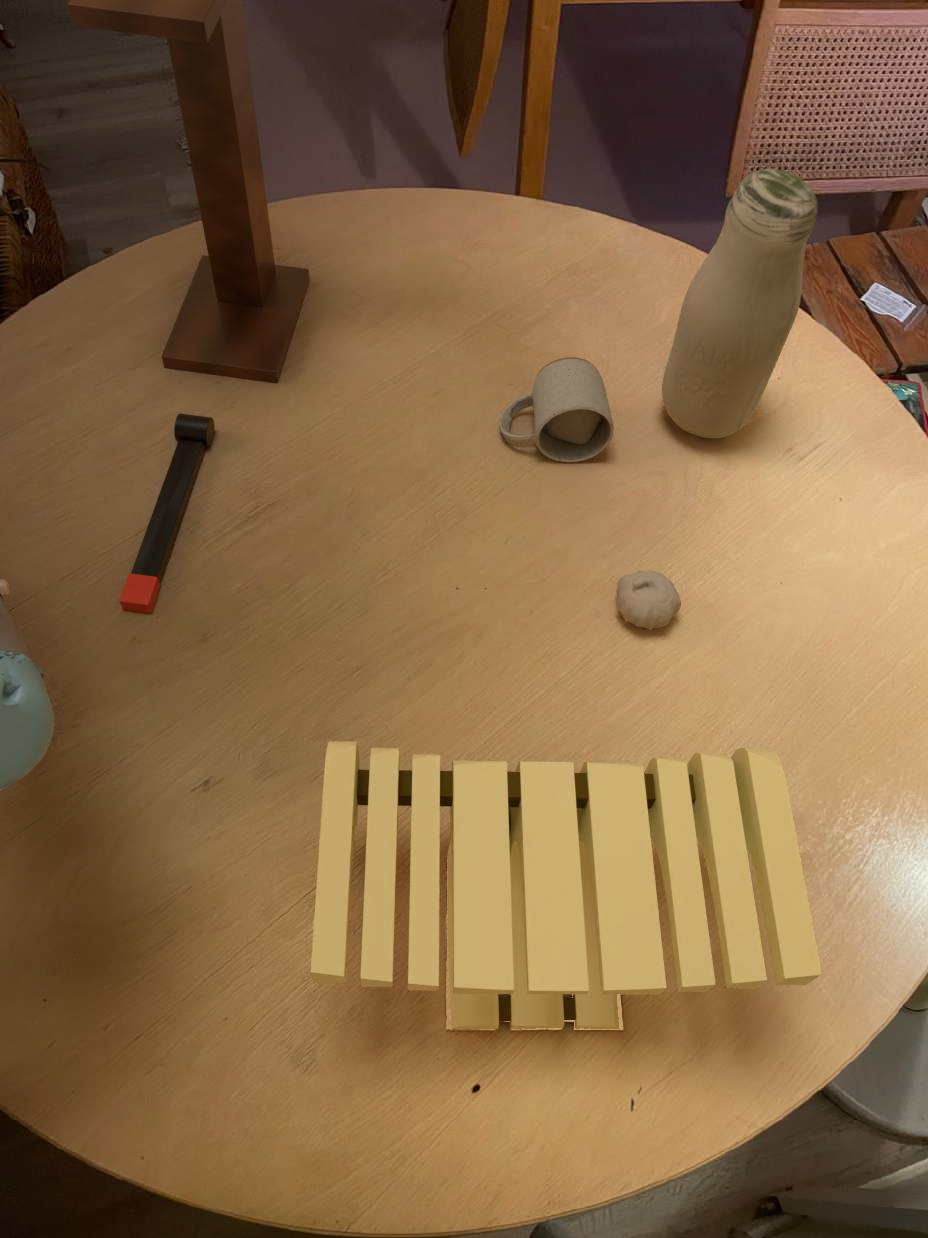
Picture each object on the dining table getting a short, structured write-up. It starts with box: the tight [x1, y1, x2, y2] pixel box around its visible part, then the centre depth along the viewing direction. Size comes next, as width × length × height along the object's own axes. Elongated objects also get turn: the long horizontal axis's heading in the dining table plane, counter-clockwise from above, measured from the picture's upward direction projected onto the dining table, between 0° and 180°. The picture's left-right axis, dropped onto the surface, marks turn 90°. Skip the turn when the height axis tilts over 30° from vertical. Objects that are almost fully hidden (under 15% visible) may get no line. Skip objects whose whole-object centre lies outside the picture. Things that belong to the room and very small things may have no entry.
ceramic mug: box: [499, 356, 615, 463], centre depth 103 cm, size 11×8×8 cm
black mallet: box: [118, 412, 216, 615], centre depth 97 cm, size 3×22×3 cm, turn 173°
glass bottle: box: [661, 167, 819, 439], centre depth 96 cm, size 10×10×28 cm
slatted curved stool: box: [310, 740, 823, 1030], centre depth 72 cm, size 30×16×18 cm, turn 90°
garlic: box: [616, 570, 682, 631], centre depth 93 cm, size 6×5×5 cm
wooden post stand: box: [67, 0, 311, 384], centre depth 95 cm, size 12×18×38 cm, turn 172°
